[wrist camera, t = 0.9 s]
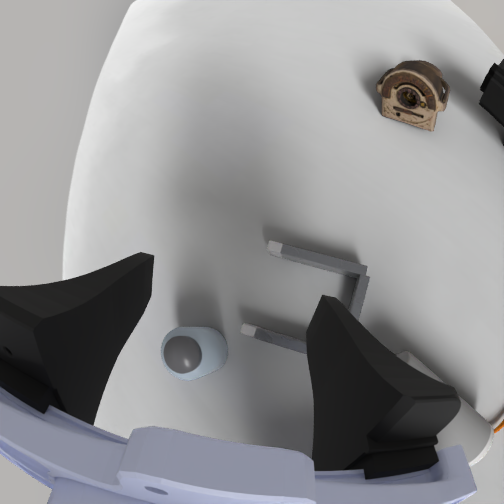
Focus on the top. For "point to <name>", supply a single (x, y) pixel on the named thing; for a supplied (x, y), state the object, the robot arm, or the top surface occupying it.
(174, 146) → the top surface
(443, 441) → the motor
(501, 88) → the security camera
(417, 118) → the mechanical counter
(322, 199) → the top surface
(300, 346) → the clip cradle
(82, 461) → the robot arm
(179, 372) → the light grey cylinder
